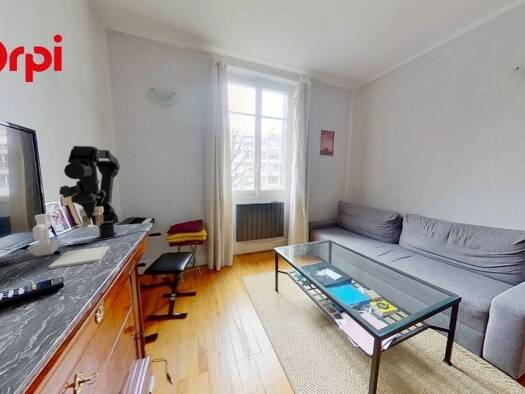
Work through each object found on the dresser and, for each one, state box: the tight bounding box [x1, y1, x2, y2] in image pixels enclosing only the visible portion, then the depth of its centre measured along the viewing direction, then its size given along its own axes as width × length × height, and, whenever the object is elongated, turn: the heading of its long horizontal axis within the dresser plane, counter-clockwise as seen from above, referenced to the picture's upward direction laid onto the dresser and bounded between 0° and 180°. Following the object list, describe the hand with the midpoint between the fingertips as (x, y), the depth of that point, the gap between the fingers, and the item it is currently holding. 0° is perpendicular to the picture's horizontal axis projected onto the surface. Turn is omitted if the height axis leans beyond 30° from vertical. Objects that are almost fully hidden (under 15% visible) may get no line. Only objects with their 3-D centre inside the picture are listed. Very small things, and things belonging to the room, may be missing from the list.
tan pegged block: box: [79, 207, 104, 228], centre depth 82 cm, size 6×6×7 cm
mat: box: [48, 245, 110, 270], centre depth 73 cm, size 13×13×1 cm
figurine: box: [26, 213, 62, 257], centre depth 76 cm, size 7×9×15 cm
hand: (92, 216), depth 82 cm, fingers closed on tan pegged block, 6 cm apart
